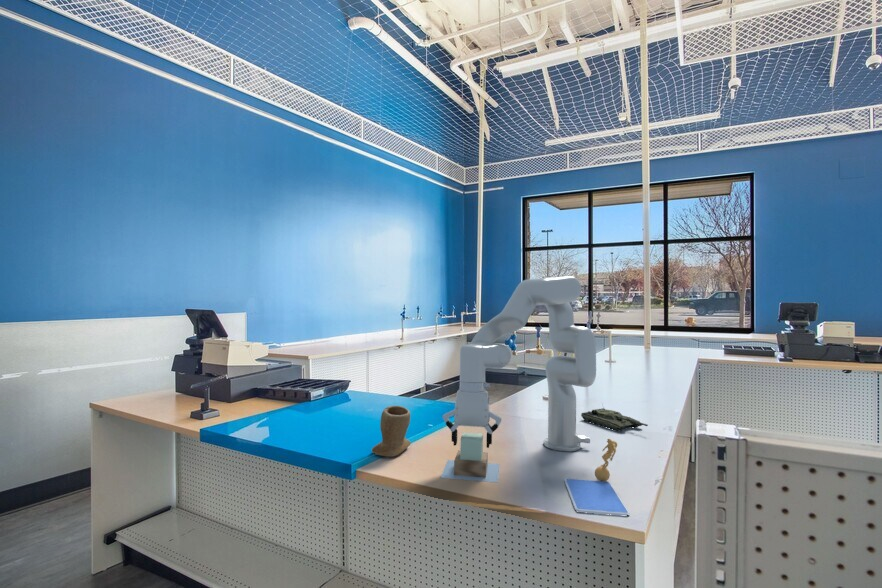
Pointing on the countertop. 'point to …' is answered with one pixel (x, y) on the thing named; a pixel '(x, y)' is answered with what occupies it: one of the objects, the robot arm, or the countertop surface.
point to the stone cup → (393, 431)
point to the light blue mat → (490, 476)
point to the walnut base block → (471, 466)
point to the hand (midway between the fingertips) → (471, 445)
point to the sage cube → (471, 446)
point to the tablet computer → (595, 497)
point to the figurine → (602, 471)
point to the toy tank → (610, 419)
